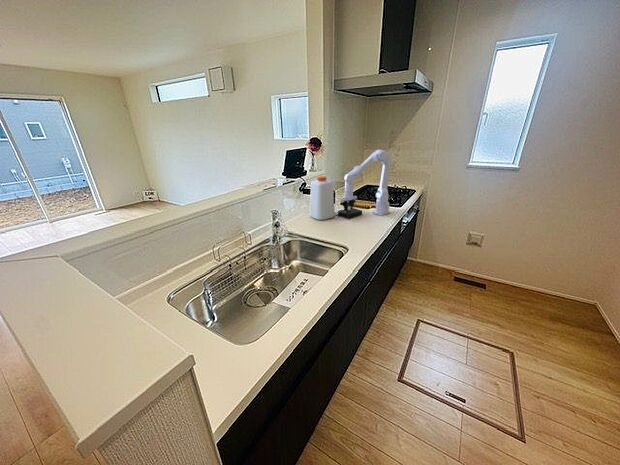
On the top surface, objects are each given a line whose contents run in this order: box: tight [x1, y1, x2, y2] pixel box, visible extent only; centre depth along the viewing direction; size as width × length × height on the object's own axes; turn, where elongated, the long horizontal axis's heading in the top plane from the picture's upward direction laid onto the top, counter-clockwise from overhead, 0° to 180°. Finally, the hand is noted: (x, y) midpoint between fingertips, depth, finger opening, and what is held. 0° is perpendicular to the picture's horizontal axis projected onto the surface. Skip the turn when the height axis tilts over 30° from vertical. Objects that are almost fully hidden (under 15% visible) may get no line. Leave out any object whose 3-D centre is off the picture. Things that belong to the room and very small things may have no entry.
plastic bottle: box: [309, 175, 336, 221], centre depth 173 cm, size 15×15×28 cm
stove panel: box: [337, 207, 363, 220], centre depth 179 cm, size 14×10×3 cm
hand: (348, 210), depth 179 cm, fingers closed on knob, 4 cm apart
